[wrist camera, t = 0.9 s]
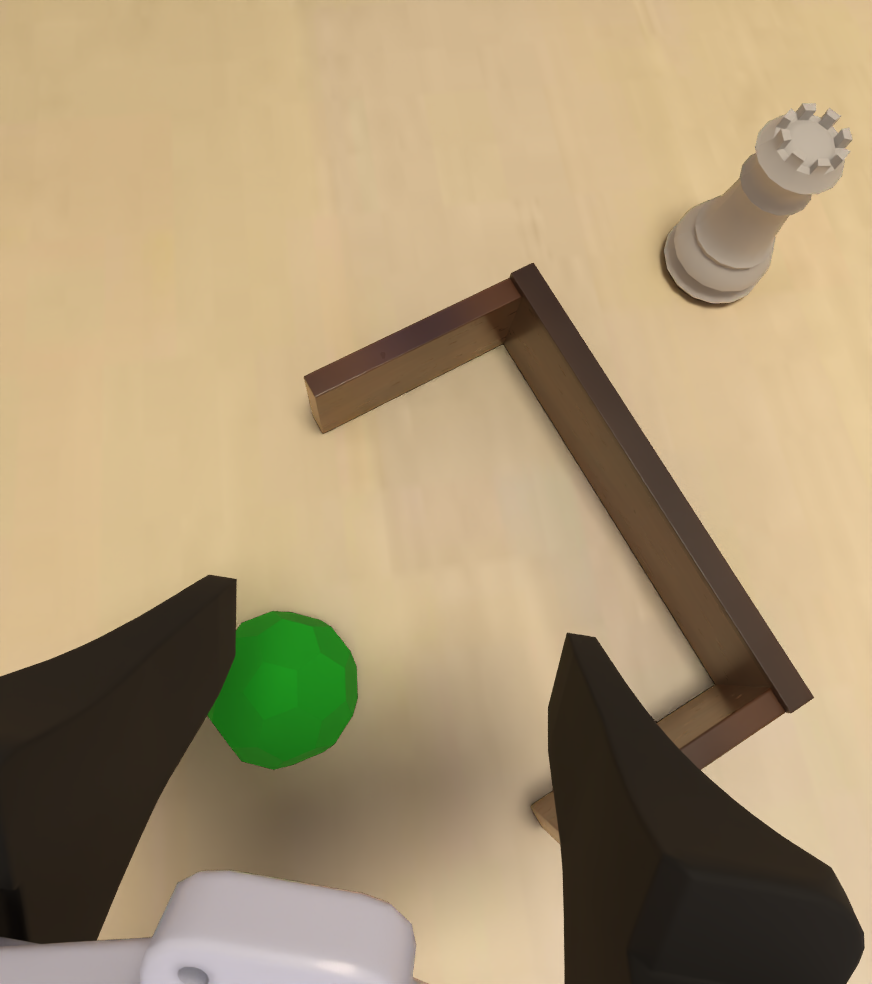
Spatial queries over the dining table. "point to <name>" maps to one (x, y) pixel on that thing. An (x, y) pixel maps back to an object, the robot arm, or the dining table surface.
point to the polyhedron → (285, 690)
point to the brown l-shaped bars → (617, 481)
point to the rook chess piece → (756, 206)
